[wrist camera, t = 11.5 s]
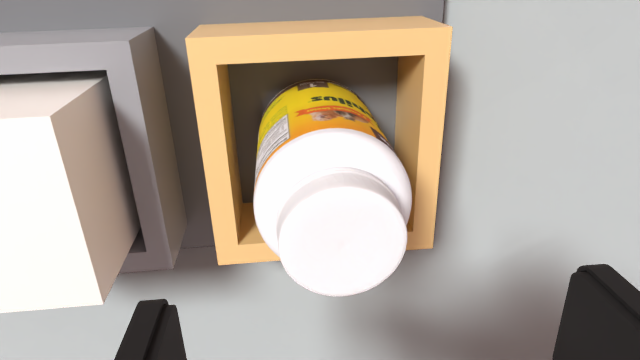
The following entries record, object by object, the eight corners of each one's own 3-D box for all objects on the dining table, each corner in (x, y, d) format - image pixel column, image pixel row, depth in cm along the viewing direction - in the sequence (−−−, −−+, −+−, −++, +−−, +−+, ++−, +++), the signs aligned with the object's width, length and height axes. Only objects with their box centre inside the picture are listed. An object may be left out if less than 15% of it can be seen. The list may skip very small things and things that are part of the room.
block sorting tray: (438, -22, 22) (539, -12, 14) (420, 220, 27) (484, 331, 19) (-113, -3, 20) (-377, 22, 12) (-12, 253, 25) (-143, 390, 17)
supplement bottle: (392, 117, 23) (472, 225, 14) (325, 198, 25) (358, 342, 16) (302, 50, 21) (326, 124, 12) (235, 143, 23) (214, 270, 14)
